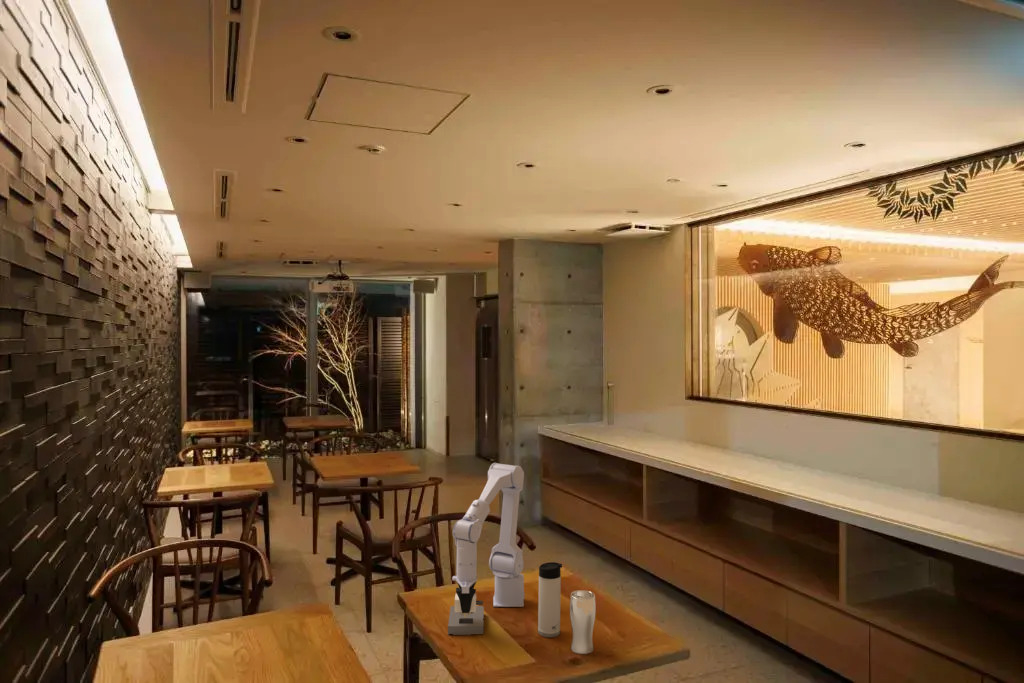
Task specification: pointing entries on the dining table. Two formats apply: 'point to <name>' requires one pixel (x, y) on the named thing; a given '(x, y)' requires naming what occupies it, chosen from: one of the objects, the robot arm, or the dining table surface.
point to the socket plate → (466, 622)
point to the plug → (473, 605)
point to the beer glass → (582, 620)
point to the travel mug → (549, 599)
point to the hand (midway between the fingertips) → (466, 608)
